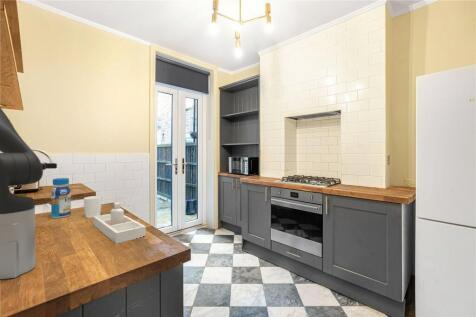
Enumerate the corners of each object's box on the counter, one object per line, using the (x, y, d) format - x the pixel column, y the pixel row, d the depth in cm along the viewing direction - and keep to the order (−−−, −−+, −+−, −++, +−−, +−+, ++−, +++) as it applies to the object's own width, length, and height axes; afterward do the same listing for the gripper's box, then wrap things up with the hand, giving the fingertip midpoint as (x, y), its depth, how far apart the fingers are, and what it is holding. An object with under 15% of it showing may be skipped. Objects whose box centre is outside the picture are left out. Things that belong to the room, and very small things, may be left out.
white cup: (81, 218, 115) (81, 199, 115) (87, 214, 122) (87, 196, 122) (98, 217, 117) (98, 198, 117) (103, 213, 125) (103, 195, 124)
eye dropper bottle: (120, 225, 101) (120, 198, 101) (124, 228, 97) (124, 200, 97) (109, 227, 98) (109, 199, 98) (113, 230, 94) (113, 201, 94)
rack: (145, 236, 91) (145, 226, 91) (116, 243, 83) (116, 233, 83) (119, 220, 112) (118, 212, 112) (93, 225, 105) (93, 216, 104)
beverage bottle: (53, 215, 121) (52, 178, 121) (72, 213, 125) (72, 177, 125) (48, 219, 114) (48, 179, 113) (69, 217, 117) (69, 179, 117)
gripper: (-15, 157, 79) (41, 157, 84) (13, 156, 93) (59, 156, 97) (-14, 178, 79) (41, 177, 84) (13, 174, 93) (60, 174, 98)
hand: (51, 166), depth 91 cm, fingers open, 8 cm apart
